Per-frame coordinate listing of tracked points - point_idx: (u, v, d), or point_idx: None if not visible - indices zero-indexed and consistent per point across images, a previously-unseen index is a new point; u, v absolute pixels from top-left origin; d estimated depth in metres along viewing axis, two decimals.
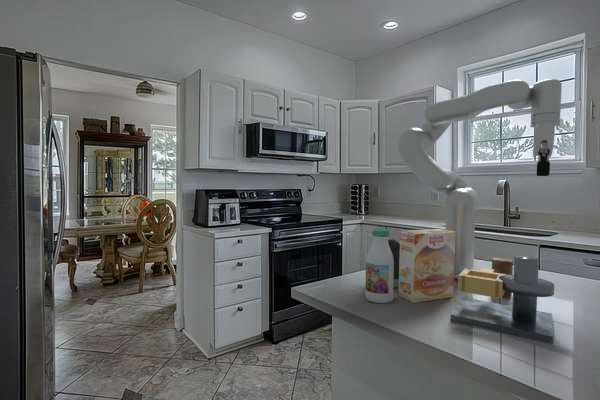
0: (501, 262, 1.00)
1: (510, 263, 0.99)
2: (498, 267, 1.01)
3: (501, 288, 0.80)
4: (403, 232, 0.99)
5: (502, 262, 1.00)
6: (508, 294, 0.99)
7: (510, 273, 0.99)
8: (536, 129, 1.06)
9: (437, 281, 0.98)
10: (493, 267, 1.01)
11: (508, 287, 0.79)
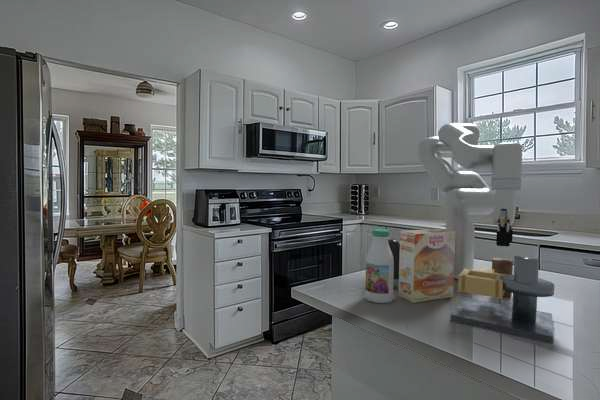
0: (501, 262, 1.00)
1: (510, 263, 0.99)
2: (498, 267, 1.01)
3: (501, 288, 0.80)
4: (403, 232, 0.99)
5: (502, 262, 1.00)
6: (508, 294, 0.99)
7: (510, 273, 0.99)
8: (495, 195, 0.98)
9: (437, 281, 0.98)
10: (493, 267, 1.01)
11: (508, 287, 0.79)
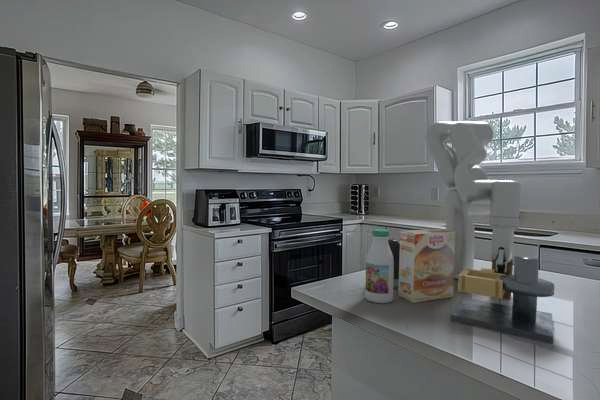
0: None
1: (510, 263, 0.99)
2: None
3: (501, 288, 0.80)
4: (403, 232, 0.99)
5: None
6: (508, 294, 0.99)
7: (510, 273, 0.99)
8: (493, 233, 0.99)
9: (437, 281, 0.98)
10: (493, 267, 1.01)
11: (508, 287, 0.79)
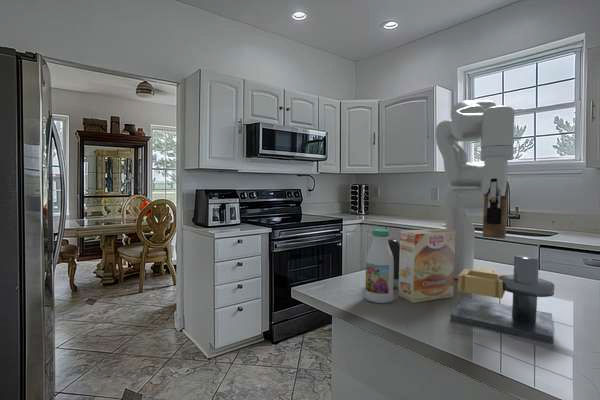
0: None
1: (504, 197, 0.88)
2: None
3: (501, 288, 0.80)
4: (403, 232, 0.99)
5: None
6: (502, 233, 0.89)
7: (504, 209, 0.89)
8: (485, 164, 0.89)
9: (437, 281, 0.98)
10: (485, 204, 0.91)
11: (508, 287, 0.79)
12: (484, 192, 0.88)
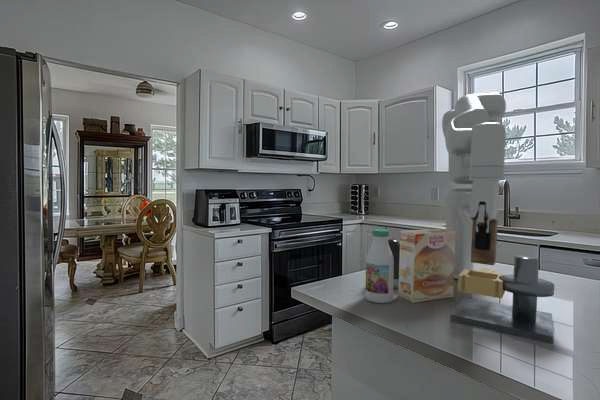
0: None
1: (494, 221, 0.82)
2: None
3: (501, 288, 0.80)
4: (403, 232, 0.99)
5: None
6: (491, 259, 0.83)
7: (493, 233, 0.82)
8: (473, 186, 0.83)
9: (437, 281, 0.98)
10: (474, 227, 0.85)
11: (508, 287, 0.79)
12: (472, 216, 0.82)
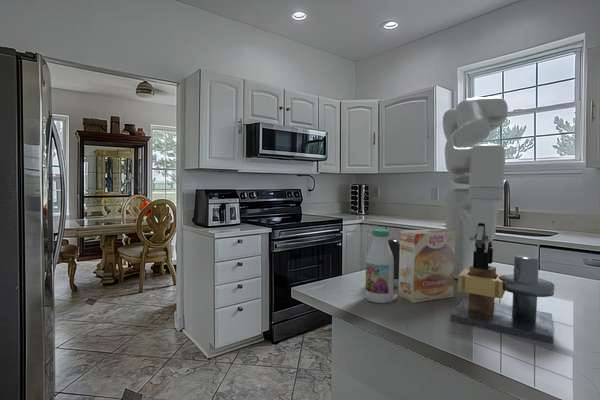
0: (480, 270, 0.85)
1: (490, 271, 0.83)
2: None
3: (501, 288, 0.80)
4: (403, 232, 0.99)
5: (481, 270, 0.84)
6: (488, 308, 0.84)
7: None
8: (472, 207, 0.83)
9: (437, 281, 0.98)
10: (471, 275, 0.86)
11: (508, 287, 0.79)
12: (471, 237, 0.83)
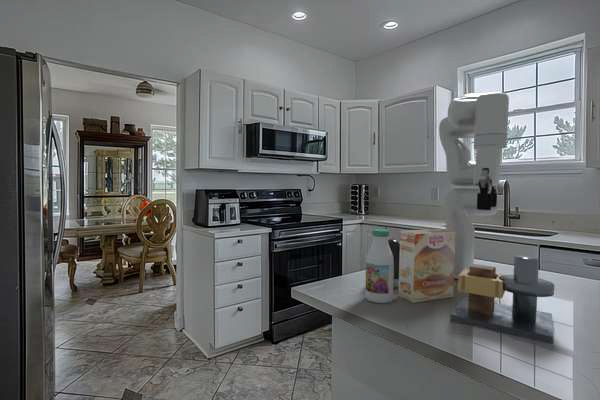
0: (480, 270, 0.85)
1: (490, 271, 0.83)
2: None
3: (501, 288, 0.80)
4: (403, 232, 0.99)
5: (481, 270, 0.84)
6: (488, 308, 0.84)
7: None
8: (477, 153, 0.87)
9: (437, 281, 0.98)
10: (471, 275, 0.86)
11: (508, 287, 0.79)
12: (475, 182, 0.87)
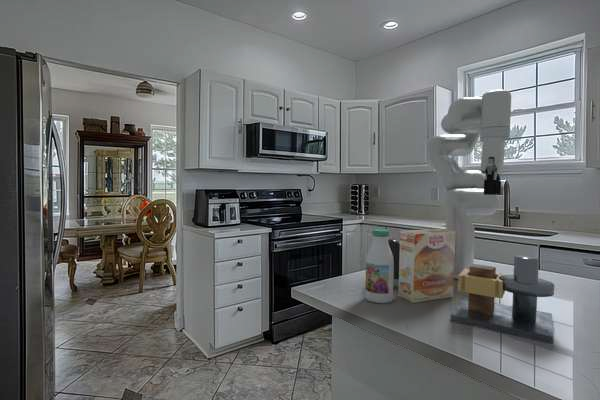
0: (480, 270, 0.85)
1: (490, 271, 0.83)
2: None
3: (501, 288, 0.80)
4: (403, 232, 0.99)
5: (481, 270, 0.84)
6: (488, 308, 0.84)
7: None
8: (483, 144, 0.97)
9: (437, 281, 0.98)
10: (471, 275, 0.86)
11: (508, 287, 0.79)
12: (482, 169, 0.97)
